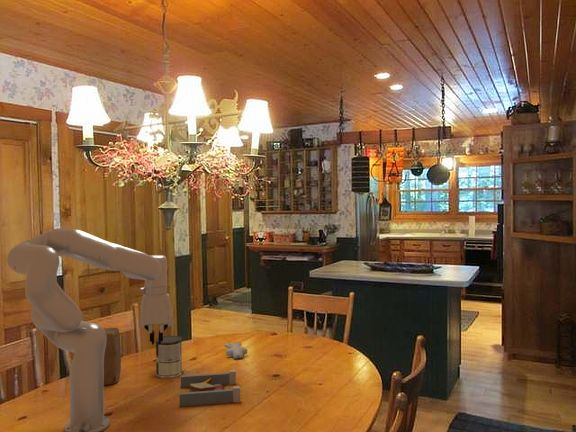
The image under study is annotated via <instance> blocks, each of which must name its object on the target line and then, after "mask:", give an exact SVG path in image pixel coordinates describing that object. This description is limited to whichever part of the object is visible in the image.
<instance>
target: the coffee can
mask: <svg viewBox="0 0 576 432" xmlns="http://www.w3.org/2000/svg"><path fill="white" fill-rule="evenodd" d="M182 340H183V337H182V336H179V335H165V336H164V335H163V341H161V344H159V337H157V338H156V339H154V342H155V376H156V377H158V378H161V379H171V378H176V377H179V376H182V374H183V362H182V361H183V353H182V348H183V347H182V342H183V341H182Z"/></svg>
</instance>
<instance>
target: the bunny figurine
mask: <svg viewBox="0 0 576 432" xmlns="http://www.w3.org/2000/svg"><path fill="white" fill-rule="evenodd" d="M224 347H225V348H227V349H226V351H225V356H227V357H232V360H237V359H243V358H244V355H248V348H245V347H242V343H241V342H240V341H237V342H236V343H233V342H232V343H229V342H226V343H225V344H224Z"/></svg>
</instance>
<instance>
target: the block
mask: <svg viewBox="0 0 576 432" xmlns="http://www.w3.org/2000/svg"><path fill="white" fill-rule="evenodd" d="M103 329H104V330H105V332H106V335H107V343H106V348H105V353H104V386H107V385H113V384H116V383H118V382H119V381H120V377H121V369H122V365H121V363H122V348H121V347H122V346H121V338H120V330H119V328H118V327H108V328H107V327H105V328H104V327H103Z"/></svg>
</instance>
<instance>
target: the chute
mask: <svg viewBox="0 0 576 432" xmlns="http://www.w3.org/2000/svg"><path fill="white" fill-rule="evenodd" d="M236 375H237V371H236V369H234V370H233V369H230V370H228V372H219V373H218V372H217V373H205V374H204V373H203V374H201V373H200V374H190V375H189V374H187V375H185V374H184V375H180V388H181V389H186V388H190V384H195V383H202V382H204V381H206V380H208V379H210V378H212V380H211V383H210V385H215V384H221V385H222V386H223V385H224V386H227V385H228V386H229V385H231V386H232V385H235V386H232V388H231V389H226V390H214V391H200V392H189V391H188V392H187V391H186V392H179V407H191V406H192V405H193V406H204V405H205V404H206V405H217V404H228V403H230V404H231V402H232V403H233V402H234V403H241V386H239V385H238V386H236V385H237V376H236Z"/></svg>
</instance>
